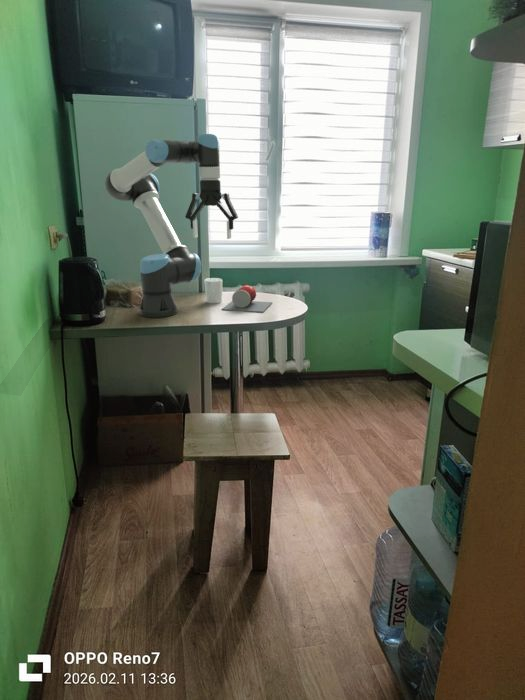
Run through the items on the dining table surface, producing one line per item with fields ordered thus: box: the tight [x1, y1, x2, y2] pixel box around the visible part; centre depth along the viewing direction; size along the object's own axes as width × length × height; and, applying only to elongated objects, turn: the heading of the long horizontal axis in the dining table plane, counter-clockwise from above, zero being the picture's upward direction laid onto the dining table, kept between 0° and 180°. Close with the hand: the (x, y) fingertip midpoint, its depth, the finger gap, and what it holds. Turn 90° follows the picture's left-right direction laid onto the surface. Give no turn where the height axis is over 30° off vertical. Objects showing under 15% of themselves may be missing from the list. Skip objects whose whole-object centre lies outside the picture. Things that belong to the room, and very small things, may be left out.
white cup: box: [203, 277, 223, 304], centre depth 219 cm, size 8×8×10 cm
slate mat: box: [221, 300, 273, 314], centre depth 212 cm, size 18×16×1 cm
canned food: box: [231, 284, 257, 308], centre depth 212 cm, size 8×8×11 cm
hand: (212, 238), depth 190 cm, fingers open, 13 cm apart
